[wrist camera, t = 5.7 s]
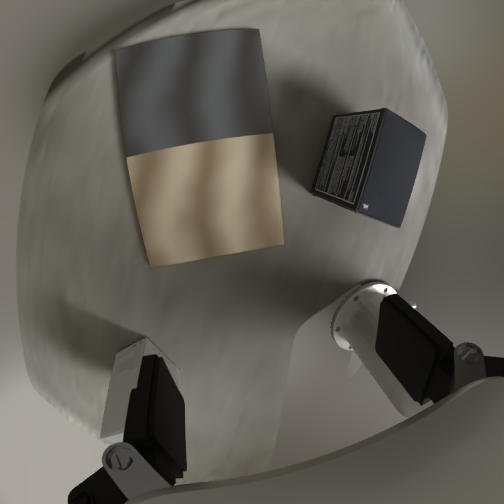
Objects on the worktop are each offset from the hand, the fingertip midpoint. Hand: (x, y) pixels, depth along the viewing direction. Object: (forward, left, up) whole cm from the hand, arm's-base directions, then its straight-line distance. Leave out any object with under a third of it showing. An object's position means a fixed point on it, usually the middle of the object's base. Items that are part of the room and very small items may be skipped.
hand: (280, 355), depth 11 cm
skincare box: (+15, +19, -23) cm, 34 cm away
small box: (-15, -5, -23) cm, 28 cm away
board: (+2, -9, -23) cm, 25 cm away
